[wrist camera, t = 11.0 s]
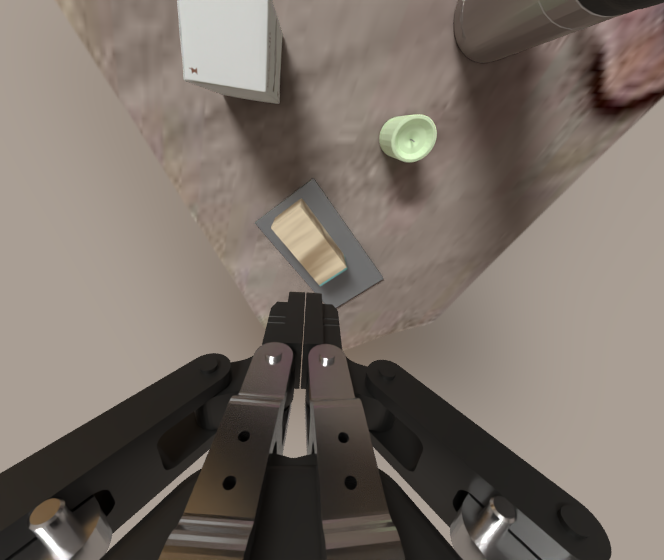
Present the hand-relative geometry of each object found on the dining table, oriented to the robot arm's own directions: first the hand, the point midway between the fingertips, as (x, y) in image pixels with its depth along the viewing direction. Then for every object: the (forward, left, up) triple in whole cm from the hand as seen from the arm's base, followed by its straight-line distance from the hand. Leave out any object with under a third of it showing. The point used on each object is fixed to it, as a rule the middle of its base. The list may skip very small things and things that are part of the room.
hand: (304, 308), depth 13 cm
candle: (-13, -4, -32) cm, 35 cm away
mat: (0, +11, -32) cm, 34 cm away
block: (-1, +13, -29) cm, 32 cm away
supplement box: (+4, -15, -32) cm, 36 cm away
